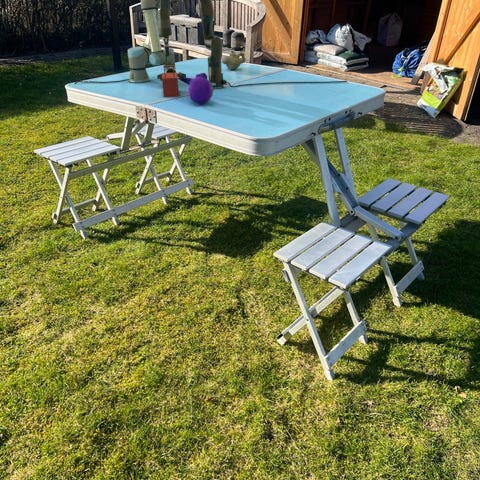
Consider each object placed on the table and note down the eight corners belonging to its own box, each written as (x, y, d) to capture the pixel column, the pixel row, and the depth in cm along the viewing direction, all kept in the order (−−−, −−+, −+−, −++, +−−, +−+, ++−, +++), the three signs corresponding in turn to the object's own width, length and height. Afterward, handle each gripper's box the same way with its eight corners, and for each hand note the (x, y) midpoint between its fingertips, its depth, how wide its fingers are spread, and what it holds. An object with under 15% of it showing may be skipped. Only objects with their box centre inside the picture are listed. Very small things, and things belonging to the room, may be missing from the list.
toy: (201, 95, 293) (213, 109, 272) (175, 90, 286) (185, 105, 265) (206, 70, 285) (219, 83, 264) (179, 65, 278) (190, 78, 257)
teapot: (225, 71, 366) (225, 52, 358) (219, 69, 374) (218, 50, 367) (248, 69, 375) (247, 49, 367) (241, 67, 383) (240, 48, 376)
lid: (177, 79, 287) (176, 65, 283) (162, 79, 286) (160, 66, 282) (176, 73, 303) (175, 60, 298) (162, 74, 301) (160, 61, 297)
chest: (179, 96, 293) (177, 78, 288) (163, 97, 292) (162, 79, 287) (178, 90, 308) (176, 74, 303) (163, 91, 307) (162, 74, 301)
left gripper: (188, 77, 332) (190, 83, 314) (154, 79, 328) (154, 85, 310) (187, 66, 328) (189, 72, 310) (153, 68, 325) (153, 73, 306)
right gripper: (171, 27, 268) (173, 56, 277) (170, 25, 280) (173, 53, 289) (158, 28, 267) (161, 57, 276) (158, 26, 280) (161, 54, 288)
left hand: (172, 78), depth 310 cm, fingers open, 13 cm apart
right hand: (167, 55), depth 282 cm, fingers open, 8 cm apart
